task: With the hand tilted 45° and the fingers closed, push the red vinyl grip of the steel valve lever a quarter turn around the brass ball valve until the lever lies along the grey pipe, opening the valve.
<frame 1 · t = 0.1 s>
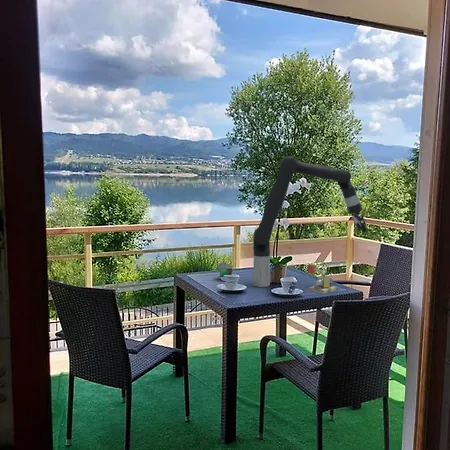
hand: (362, 230, 268), 31 cm above the table, tool tilted 20°, fingers open, 8 cm apart
valve body: (323, 281, 260), on the mounting board, point 4 cm above the table
valve lever: (317, 270, 263), point 10 cm above the table, hinge at 0.0°
food container: (223, 280, 285), on the table
mounting board: (323, 289, 261), on the table
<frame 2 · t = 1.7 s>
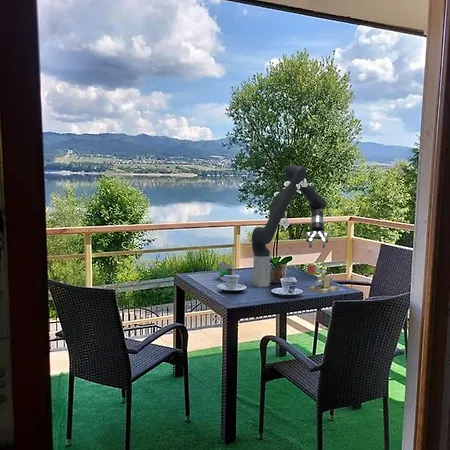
hand: (317, 247, 277), 21 cm above the table, tool tilted 45°, fingers open, 6 cm apart
nothing on the table moved.
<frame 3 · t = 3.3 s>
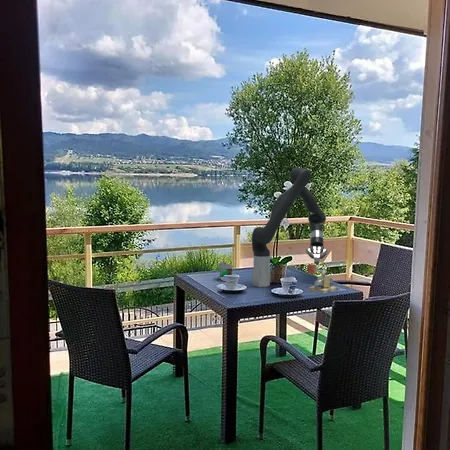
hand: (316, 263, 271), 12 cm above the table, tool tilted 45°, fingers closed
nothing on the table moved.
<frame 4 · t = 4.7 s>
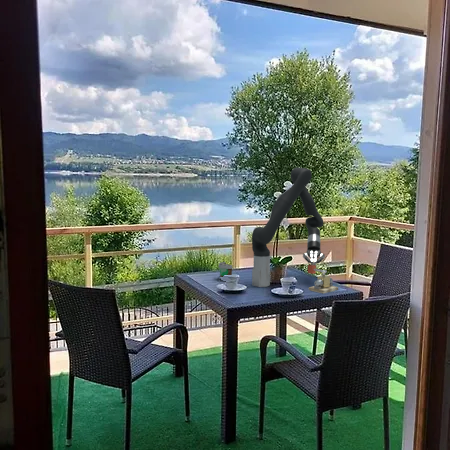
hand: (313, 268, 268), 10 cm above the table, tool tilted 45°, fingers closed
valve lever: (317, 270, 263), point 10 cm above the table, hinge at 0.0°, touching gripper
everything else where it was.
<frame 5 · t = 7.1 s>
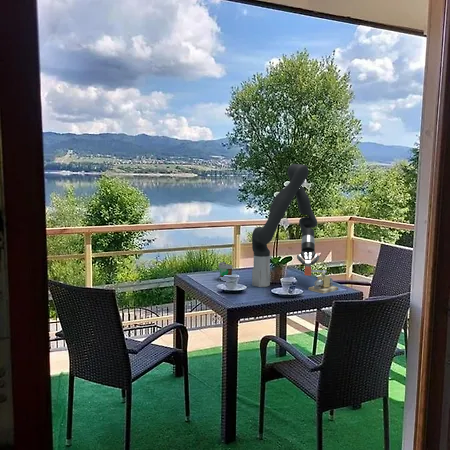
hand: (308, 270, 263), 10 cm above the table, tool tilted 45°, fingers closed
valve lever: (315, 271, 261), point 10 cm above the table, hinge at 40.5°, touching gripper
everything else where it was.
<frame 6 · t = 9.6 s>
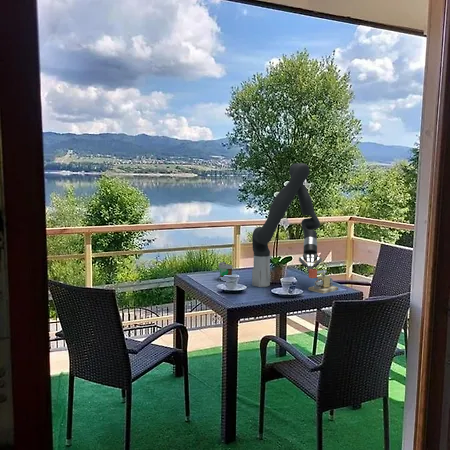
hand: (310, 273, 257), 10 cm above the table, tool tilted 45°, fingers closed
valve lever: (318, 272, 257), point 10 cm above the table, hinge at 86.7°, touching gripper
everything else where it was.
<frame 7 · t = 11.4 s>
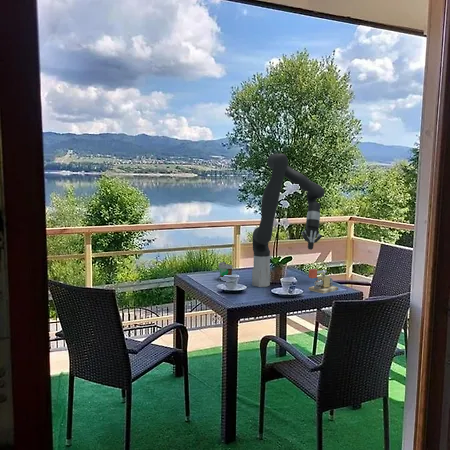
hand: (310, 249, 271), 21 cm above the table, tool tilted 20°, fingers closed
valve lever: (318, 272, 257), point 10 cm above the table, hinge at 86.8°
everything else where it was.
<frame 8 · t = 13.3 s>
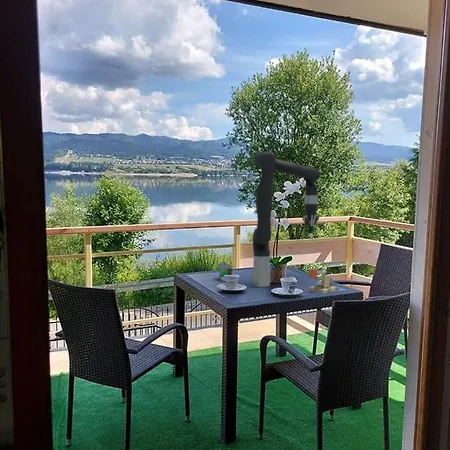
hand: (310, 232, 280), 29 cm above the table, tool pointing down, fingers closed
nothing on the table moved.
at the end: valve lever at +87° (first picture: +0°); food container moved 0.2 cm from its start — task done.
